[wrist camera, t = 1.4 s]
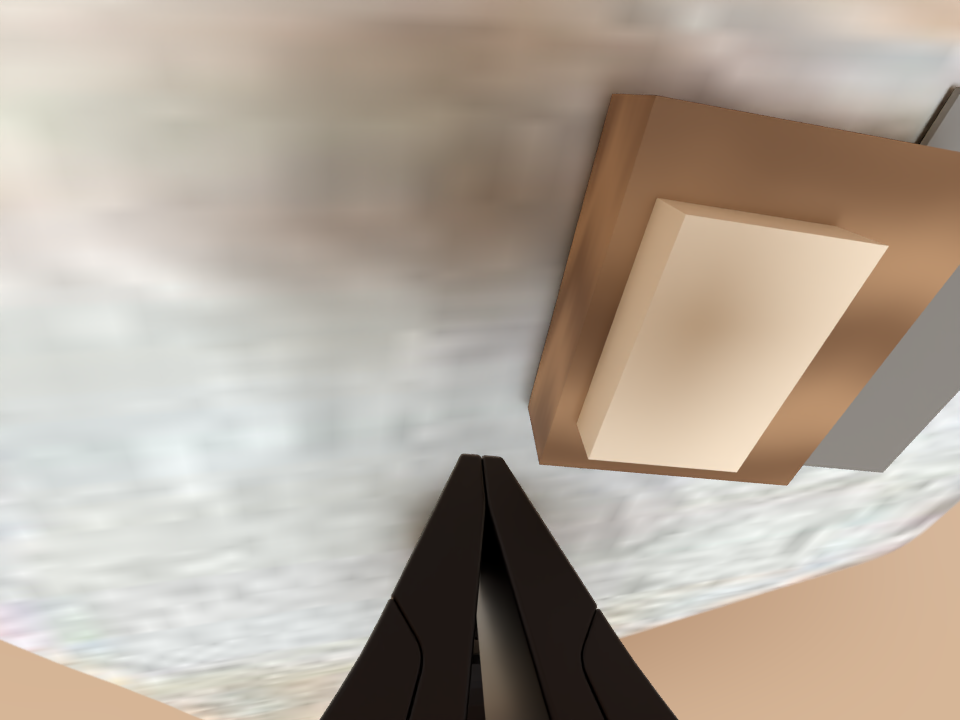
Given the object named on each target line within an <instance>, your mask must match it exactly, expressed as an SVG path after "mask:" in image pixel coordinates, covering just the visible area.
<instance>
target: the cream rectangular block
mask: <svg viewBox="0 0 960 720" xmlns="http://www.w3.org/2000/svg"><path fill="white" fill-rule="evenodd" d="M888 247H889V246H888V245H885V244H882V243H879V242H877V241H874V240H871V239H869V238H866V237H863V236H861V235H858V234H855V233H853V232H850V231H847V230H845V229H842V228H839V227H837V226H831V225H825V224H819V223H812V222H806V221H800V220H793V219H787V218H781V217H775V216H768V215H762V214H756V213H749V212H743V211H737V210H730V209H724V208H718V207H712V206H705V205H699V204H693V203H686V202H680V201H674V200H668V199H661V198H657V199H656V202H655V205H654V208H653V210H652V213H651V216H650V219H649V222H648V224H647V227H646V230H645V233H644V236H643V238H642V241H641V244H640V247H639V250H638V252H637V255H636V258H635V261H634V264H633V267H632V269H631V272H630V275H629V278H628V281H627V283H626V286H625V289H624V292H623V295H622V297H621V300H620V303H619V306H618V309H617V311H616V314H615V317H614V320H613V323H612V325H611V328H610V331H609V334H608V337H607V340H606V342H605V345H604V348H603V351H602V354H601V356H600V359H599V362H598V365H597V368H596V370H595V373H594V376H593V379H592V382H591V384H590V387H589V390H588V393H587V396H586V398H585V401H584V404H583V407H582V410H581V413H580V415H579V418H578V421H577V427H578V430H579V433H580V436H581V439H582V442H583V445H584V448H585V451H586V454H587V457H588V459H591V460H602V461H614V462H625V463H636V464H648V465H659V466H671V467H682V468H693V469H705V470H716V471H727V472H737V471H738V470H739V468H740V467H741V465H742V464H743V462H744V461H745V459H746V458H747V456H748V455H749V453H750V452H751V450H752V449H753V447H754V446H755V445H756V443H757V442H758V440H759V439H760V437H761V436H762V434H763V433H764V431H765V430H766V428H767V427H768V425H769V424H770V422H771V421H772V419H773V418H774V416H775V415H776V413H777V412H778V410H779V409H780V407H781V406H782V404H783V403H784V401H785V400H786V398H787V397H788V395H789V394H790V392H791V391H792V390H793V388H794V387H795V385H796V384H797V382H798V381H799V379H800V378H801V376H802V375H803V373H804V372H805V370H806V369H807V367H808V366H809V364H810V363H811V361H812V360H813V358H814V357H815V355H816V354H817V352H818V351H819V349H820V348H821V346H822V345H823V343H824V342H825V340H826V339H827V337H828V336H829V335H830V333H831V332H832V330H833V329H834V327H835V326H836V324H837V323H838V321H839V320H840V318H841V317H842V315H843V314H844V312H845V311H846V309H847V308H848V306H849V305H850V303H851V302H852V300H853V299H854V297H855V296H856V294H857V293H858V291H859V290H860V288H861V287H862V285H863V284H864V282H865V281H866V280H867V278H868V277H869V275H870V274H871V272H872V271H873V269H874V268H875V266H876V265H877V263H878V262H879V260H880V259H881V257H882V256H883V254H884V253H885V251H886V250H887V248H888Z"/></svg>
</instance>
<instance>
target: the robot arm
mask: <svg viewBox="0 0 960 720" xmlns="http://www.w3.org/2000/svg"><path fill="white" fill-rule="evenodd" d="M596 608H597V604H596V603H595V601H594V600H593V598H592V596H591V595H590V593H589V592H588V590H587V589H586V587H585V586H584V584H583V582H582V581H581V579H580V578H579V576H578V575H577V573H576V572H575V570H574V568H573V567H572V565H571V564H570V562H569V561H568V559H567V558H566V556H565V554H564V553H563V551H562V550H561V548H560V547H559V545H558V544H557V542H556V540H555V539H554V537H553V536H552V534H551V533H550V531H549V530H548V528H547V526H546V525H545V523H544V522H543V520H542V519H541V517H540V516H539V514H538V512H537V511H536V509H535V508H534V506H533V505H532V503H531V502H530V500H529V498H528V497H527V495H526V494H525V492H524V491H523V489H522V488H521V486H520V484H519V483H518V481H517V480H516V478H515V477H514V475H513V474H512V472H511V470H510V469H509V467H508V466H507V464H506V463H505V461H504V460H503V458H501V457H498V456H487V455H484V456H482V458H481V457H480V455H475V454H461V455H460V457H459V459H458V461H457V463H456V465H455V467H454V469H453V471H452V473H451V475H450V477H449V479H448V481H447V483H446V485H445V487H444V489H443V491H442V493H441V495H440V497H439V499H438V501H437V504H436V506H435V508H434V510H433V512H432V514H431V516H430V518H429V520H428V522H427V524H426V526H425V528H424V530H423V532H422V534H421V536H420V538H419V540H418V542H417V544H416V546H415V548H414V550H413V552H412V554H411V556H410V558H409V560H408V562H407V564H406V566H405V568H404V570H403V573H402V575H401V577H400V579H399V581H398V583H397V585H396V587H395V589H394V591H393V593H392V595H391V599H389V600H388V602H387V604H386V606H385V608H384V610H383V612H382V614H381V616H380V618H379V621H378V622H377V624H376V626H375V628H374V630H373V632H372V634H371V636H370V637H369V639H368V641H367V643H366V645H365V647H364V649H363V651H362V652H361V654H360V656H359V657H358V659H357V661H356V662H355V664H354V666H353V667H352V669H351V671H350V672H349V674H348V676H347V677H346V679H345V681H344V682H343V684H342V686H341V687H340V689H339V691H338V692H337V694H336V695H335V697H334V698H333V700H332V701H331V703H330V705H329V706H328V708H327V709H326V711H325V712H324V714H323V715H322V717H321V718H320V720H678V719H677V717H676V716H675V715H674V713H673V712H672V711H671V710H670V708H669V707H668V706H667V704H666V703H665V702H664V701H663V699H662V698H661V697H660V695H659V694H658V693H657V691H656V690H655V689H654V687H653V686H652V685H651V683H650V682H649V680H648V679H647V678H646V676H645V675H644V674H643V672H642V671H641V670H640V668H639V667H638V666H637V664H636V663H635V662H634V660H633V659H632V657H631V656H630V654H629V653H628V651H627V650H626V648H625V647H624V645H623V644H622V642H621V641H620V639H619V638H618V636H617V635H616V633H615V632H614V630H613V629H612V627H611V626H610V624H609V623H608V621H607V620H606V618H605V616H604V615H603V613H602V612H601V610H600V609H596Z"/></svg>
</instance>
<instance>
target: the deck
mask: <svg viewBox="0 0 960 720" xmlns="http://www.w3.org/2000/svg"><path fill="white" fill-rule="evenodd" d="M657 198H661V199H668V200H674V201H680V202H686V203H693V204H699V205H705V206H712V207H718V208H724V209H730V210H737V211H743V212H749V213H756V214H762V215H768V216H775V217H781V218H787V219H793V220H800V221H806V222H812V223H819V224H825V225H831V226H837V227H839V228H842V229H845V230H847V231H850V232H853V233H855V234H858V235H861V236H863V237H866V238H869V239H871V240H874V241H877V242H879V243H882V244H885V245H888V246H889V247H888V248H887V250H886V251H885V253H884V254H883V256H882V257H881V259H880V260H879V262H878V263H877V265H876V266H875V268H874V269H873V271H872V272H871V274H870V275H869V277H868V278H867V280H866V281H865V282H864V284H863V285H862V287H861V288H860V290H859V291H858V293H857V294H856V296H855V297H854V299H853V300H852V302H851V303H850V305H849V306H848V308H847V309H846V311H845V312H844V314H843V315H842V317H841V318H840V320H839V321H838V323H837V324H836V326H835V327H834V329H833V330H832V332H831V333H830V335H829V336H828V337H827V339H826V340H825V342H824V343H823V345H822V346H821V348H820V349H819V351H818V352H817V354H816V355H815V357H814V358H813V360H812V361H811V363H810V364H809V366H808V367H807V369H806V370H805V372H804V373H803V375H802V376H801V378H800V379H799V381H798V382H797V384H796V385H795V387H794V388H793V390H792V391H791V392H790V394H789V395H788V397H787V398H786V400H785V401H784V403H783V404H782V406H781V407H780V409H779V410H778V412H777V413H776V415H775V416H774V418H773V419H772V421H771V422H770V424H769V425H768V427H767V428H766V430H765V431H764V433H763V434H762V436H761V437H760V439H759V440H758V442H757V443H756V445H755V446H754V447H753V449H752V450H751V452H750V453H749V455H748V456H747V458H746V459H745V461H744V462H743V464H742V465H741V467H740V468H739V470H738V471H737V472H727V471H716V470H705V469H693V468H682V467H671V466H659V465H648V464H636V463H625V462H614V461H602V460H591V459H588V457H587V454H586V451H585V448H584V445H583V442H582V439H581V436H580V433H579V430H578V427H577V421H578V418H579V415H580V413H581V410H582V407H583V404H584V401H585V398H586V396H587V393H588V390H589V387H590V384H591V382H592V379H593V376H594V373H595V370H596V368H597V365H598V362H599V359H600V356H601V354H602V351H603V348H604V345H605V342H606V340H607V337H608V334H609V331H610V328H611V325H612V323H613V320H614V317H615V314H616V311H617V309H618V306H619V303H620V300H621V297H622V295H623V292H624V289H625V286H626V283H627V281H628V278H629V275H630V272H631V269H632V267H633V264H634V261H635V258H636V255H637V252H638V250H639V247H640V244H641V241H642V238H643V236H644V233H645V230H646V227H647V224H648V222H649V219H650V216H651V213H652V210H653V208H654V205H655V202H656V199H657ZM959 265H960V152H957V151H952V150H947V149H941V148H936V147H930V146H925V145H920V144H914V143H909V142H904V141H898V140H893V139H887V138H882V137H877V136H871V135H866V134H861V133H855V132H850V131H845V130H839V129H834V128H828V127H823V126H818V125H812V124H807V123H802V122H796V121H791V120H785V119H780V118H775V117H769V116H764V115H759V114H753V113H748V112H742V111H737V110H732V109H726V108H721V107H716V106H710V105H705V104H699V103H694V102H689V101H683V100H678V99H673V98H667V97H662V96H657V95H633V94H612V97H611V101H610V104H609V108H608V112H607V116H606V119H605V123H604V127H603V130H602V134H601V138H600V142H599V145H598V149H597V153H596V156H595V160H594V164H593V168H592V171H591V175H590V179H589V182H588V186H587V190H586V194H585V197H584V201H583V205H582V208H581V212H580V216H579V220H578V223H577V227H576V231H575V234H574V238H573V242H572V246H571V249H570V253H569V257H568V260H567V264H566V268H565V272H564V275H563V279H562V283H561V286H560V290H559V294H558V298H557V301H556V305H555V309H554V312H553V316H552V320H551V324H550V327H549V331H548V335H547V338H546V342H545V346H544V350H543V353H542V357H541V361H540V364H539V368H538V372H537V376H536V379H535V383H534V387H533V390H532V394H531V398H530V402H529V405H528V410H529V415H530V420H531V425H532V430H533V435H534V440H535V445H536V450H537V455H538V460H539V464H540V465H552V466H564V467H575V468H587V469H599V470H611V471H622V472H634V473H646V474H657V475H669V476H681V477H692V478H704V479H716V480H728V481H739V482H751V483H763V484H774V485H786V486H787V485H788V484H789V482H790V481H791V480H792V479H793V477H794V476H795V475H796V473H797V472H798V471H799V470H800V468H801V467H802V466H803V465H804V463H805V462H806V461H807V459H808V458H809V457H810V456H811V454H812V453H813V452H814V450H815V449H816V448H817V447H818V445H819V444H820V443H821V441H822V440H823V439H824V438H825V436H826V435H827V434H828V433H829V431H830V430H831V429H832V427H833V426H834V425H835V424H836V422H837V421H838V420H839V418H840V417H841V416H842V415H843V413H844V412H845V411H846V409H847V408H848V407H849V406H850V404H851V403H852V402H853V400H854V399H855V398H856V397H857V395H858V394H859V393H860V392H861V390H862V389H863V388H864V386H865V385H866V384H867V383H868V381H869V380H870V379H871V377H872V376H873V375H874V374H875V372H876V371H877V370H878V368H879V367H880V366H881V365H882V363H883V362H884V361H885V359H886V358H887V357H888V356H889V354H890V353H891V352H892V351H893V349H894V348H895V347H896V345H897V344H898V343H899V342H900V340H901V339H902V338H903V336H904V335H905V334H906V333H907V331H908V330H909V329H910V327H911V326H912V325H913V324H914V322H915V321H916V320H917V319H918V317H919V316H920V315H921V313H922V312H923V311H924V310H925V308H926V307H927V306H928V304H929V303H930V302H931V301H932V299H933V298H934V297H935V295H936V294H937V293H938V292H939V290H940V289H941V288H942V286H943V285H944V284H945V283H946V281H947V280H948V279H949V278H950V276H951V275H952V274H953V272H954V271H955V270H956V269H957V267H958V266H959Z"/></svg>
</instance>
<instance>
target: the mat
mask: <svg viewBox="0 0 960 720" xmlns="http://www.w3.org/2000/svg"><path fill="white" fill-rule="evenodd" d="M920 145H925V146H930V147H936V148H941V149H947V150H952V151H957V152H960V87H956V88H955V89H954V91H953V92H952V94H951V96H950V97H949V99H948V100H947V102H946V104H945V105H944V107H943V108H942V110H941V111H940V113H939V115H938V116H937V118H936V119H935V121H934V123H933V124H932V126H931V127H930V129H929V131H928V132H927V134H926V135H925V137H924V138H923V140H922V142H921V143H920ZM959 390H960V265H959V266H958V267H957V269H956V270H955V271H954V272H953V274H952V275H951V276H950V278H949V279H948V280H947V281H946V283H945V284H944V285H943V286H942V288H941V289H940V290H939V292H938V293H937V294H936V295H935V297H934V298H933V299H932V301H931V302H930V303H929V304H928V306H927V307H926V308H925V310H924V311H923V312H922V313H921V315H920V316H919V317H918V319H917V320H916V321H915V322H914V324H913V325H912V326H911V327H910V329H909V330H908V331H907V333H906V334H905V335H904V336H903V338H902V339H901V340H900V342H899V343H898V344H897V345H896V347H895V348H894V349H893V351H892V352H891V353H890V354H889V356H888V357H887V358H886V359H885V361H884V362H883V363H882V365H881V366H880V367H879V368H878V370H877V371H876V372H875V374H874V375H873V376H872V377H871V379H870V380H869V381H868V383H867V384H866V385H865V386H864V388H863V389H862V390H861V392H860V393H859V394H858V395H857V397H856V398H855V399H854V400H853V402H852V403H851V404H850V406H849V407H848V408H847V409H846V411H845V412H844V413H843V415H842V416H841V417H840V418H839V420H838V421H837V422H836V424H835V425H834V426H833V427H832V429H831V430H830V431H829V433H828V434H827V435H826V436H825V438H824V439H823V440H822V441H821V443H820V444H819V445H818V447H817V448H816V449H815V450H814V452H813V453H812V454H811V456H810V457H809V458H808V459H807V461H806V462H805V463H804V465H805V466H816V467H827V468H838V469H849V470H860V471H871V472H882V473H883V472H884V471H885V470H886V469H887V467H888V466H889V465H890V464H891V463H892V462H893V461H894V460H895V459H896V458H897V457H898V456H899V455H900V454H901V452H902V451H903V450H904V449H905V448H906V447H907V446H908V445H909V444H910V443H911V442H912V441H913V440H914V439H915V437H916V436H917V435H918V434H919V433H920V432H921V431H922V430H923V429H924V428H925V427H926V426H927V425H928V424H929V422H930V421H931V420H932V419H933V418H934V417H935V416H936V415H937V414H938V413H939V412H940V411H941V410H942V409H943V407H944V406H945V405H946V404H947V403H948V402H949V401H950V400H951V399H952V398H953V397H954V396H955V395H956V394H957V392H958V391H959Z"/></svg>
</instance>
